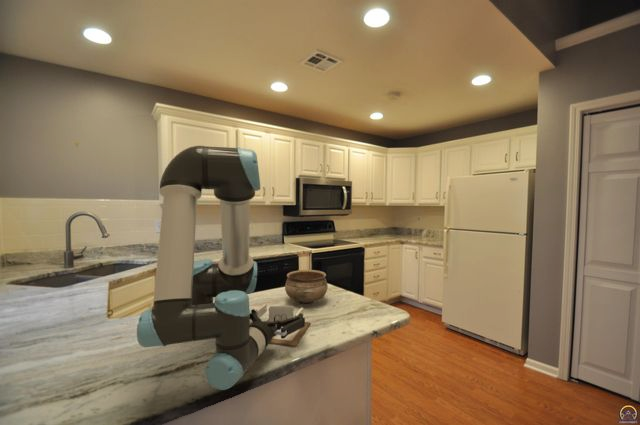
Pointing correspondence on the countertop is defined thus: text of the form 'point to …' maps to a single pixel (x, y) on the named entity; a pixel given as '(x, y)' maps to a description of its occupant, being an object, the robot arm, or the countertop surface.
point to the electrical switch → (280, 313)
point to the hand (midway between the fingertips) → (283, 309)
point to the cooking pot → (306, 286)
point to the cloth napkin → (290, 337)
